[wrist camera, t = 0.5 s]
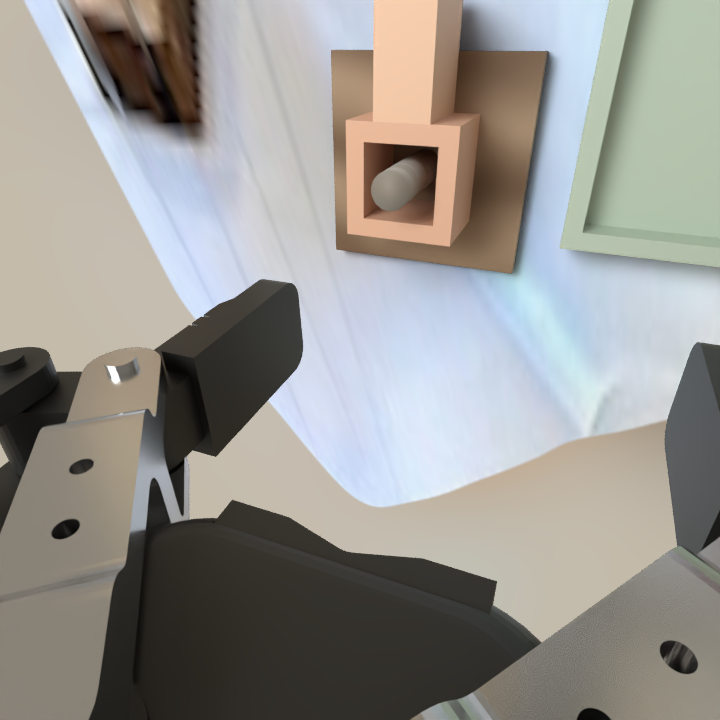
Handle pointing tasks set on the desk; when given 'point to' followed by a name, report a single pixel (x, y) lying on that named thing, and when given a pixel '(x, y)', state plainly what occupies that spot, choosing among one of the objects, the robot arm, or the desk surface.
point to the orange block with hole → (413, 123)
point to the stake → (419, 163)
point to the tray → (652, 137)
